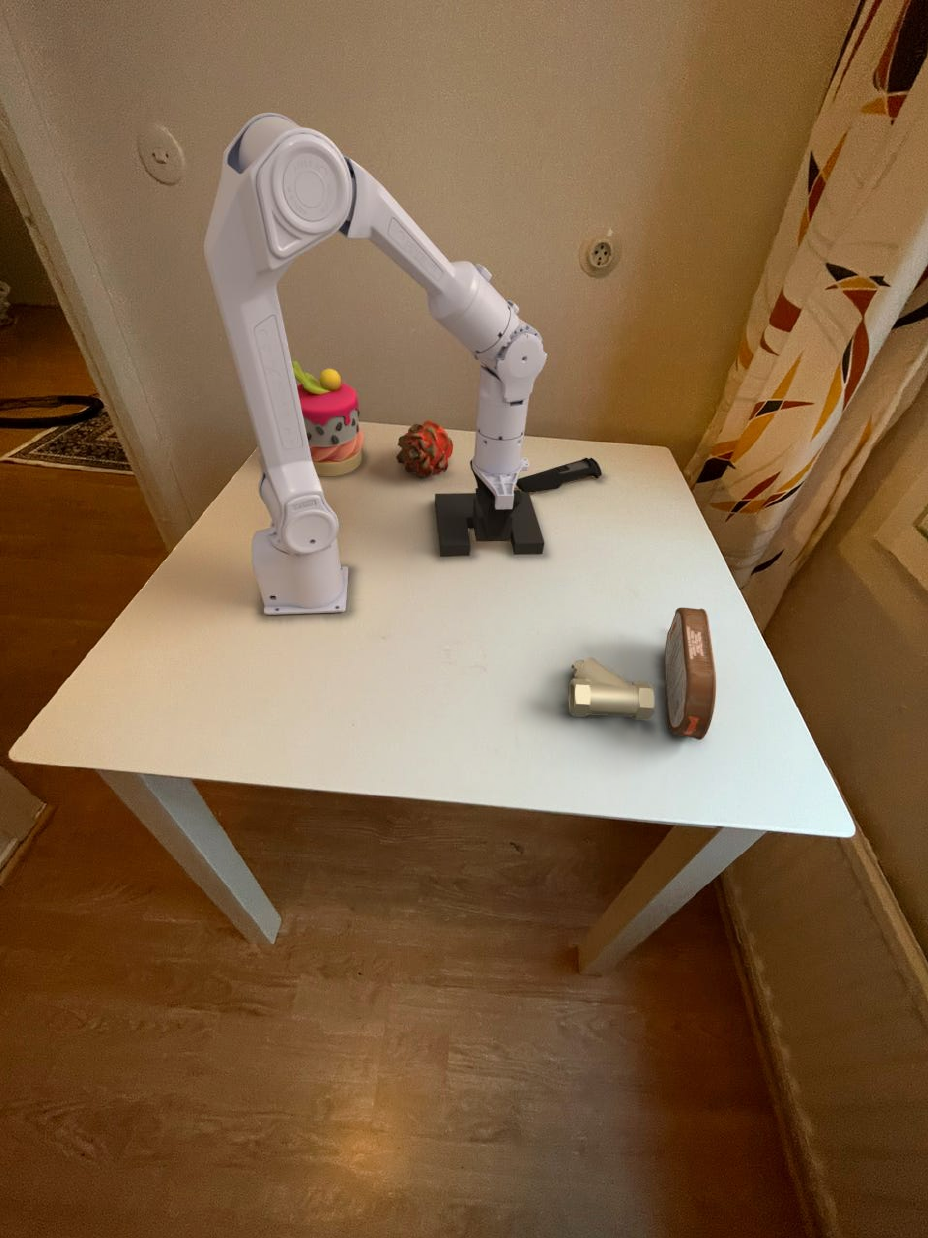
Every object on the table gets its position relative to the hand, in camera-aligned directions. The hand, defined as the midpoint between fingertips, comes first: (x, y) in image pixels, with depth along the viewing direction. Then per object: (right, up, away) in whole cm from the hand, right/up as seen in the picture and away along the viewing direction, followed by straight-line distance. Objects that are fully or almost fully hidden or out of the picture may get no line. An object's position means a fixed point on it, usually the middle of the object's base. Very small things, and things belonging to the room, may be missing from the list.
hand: (490, 522), depth 75 cm
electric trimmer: (+11, +8, +13) cm, 19 cm away
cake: (-25, +13, +15) cm, 32 cm away
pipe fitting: (+11, -21, -15) cm, 29 cm away
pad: (0, -1, +1) cm, 1 cm away
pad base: (0, 0, +4) cm, 4 cm away
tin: (+19, -21, -14) cm, 32 cm away
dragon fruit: (-10, +11, +15) cm, 21 cm away
